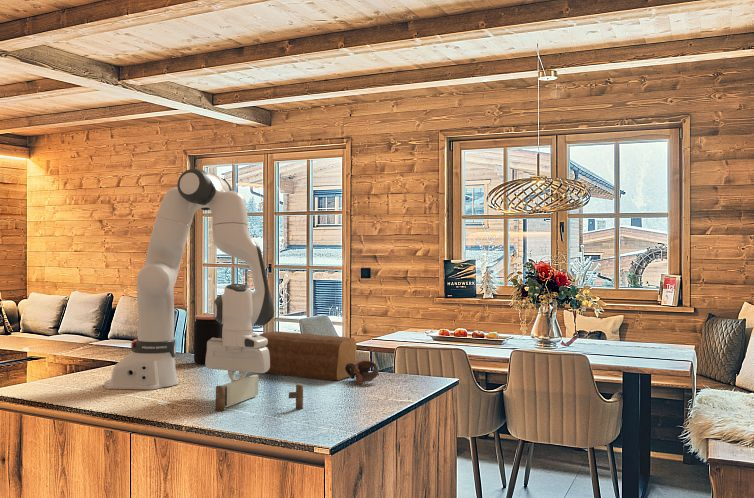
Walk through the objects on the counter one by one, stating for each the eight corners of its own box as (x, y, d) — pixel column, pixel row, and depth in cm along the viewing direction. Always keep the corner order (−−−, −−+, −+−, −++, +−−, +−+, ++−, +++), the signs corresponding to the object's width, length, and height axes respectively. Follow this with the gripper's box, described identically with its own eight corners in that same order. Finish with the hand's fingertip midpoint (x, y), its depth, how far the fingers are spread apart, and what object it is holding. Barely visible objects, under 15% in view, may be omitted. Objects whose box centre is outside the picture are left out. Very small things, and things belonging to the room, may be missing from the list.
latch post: (288, 410, 193) (289, 386, 193) (288, 407, 196) (288, 384, 196) (303, 409, 194) (303, 386, 194) (302, 407, 196) (303, 384, 196)
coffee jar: (228, 362, 268) (229, 315, 268) (208, 366, 259) (208, 317, 259) (208, 359, 273) (209, 313, 273) (187, 363, 264) (188, 315, 264)
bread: (276, 366, 262) (277, 328, 262) (357, 375, 247) (358, 335, 247) (254, 372, 249) (254, 332, 249) (337, 382, 234) (338, 339, 234)
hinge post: (215, 411, 190) (215, 387, 190) (215, 409, 192) (216, 385, 192) (224, 411, 191) (224, 387, 190) (224, 409, 193) (225, 385, 193)
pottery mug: (381, 381, 239) (383, 362, 235) (370, 398, 231) (373, 379, 227) (348, 370, 242) (350, 351, 238) (337, 386, 234) (339, 367, 230)
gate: (226, 407, 194) (227, 385, 194) (223, 406, 194) (223, 384, 194) (258, 395, 210) (258, 374, 210) (254, 394, 210) (254, 374, 210)
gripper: (201, 338, 209) (200, 384, 209) (262, 342, 202) (261, 390, 202) (213, 335, 215) (212, 381, 215) (272, 339, 208) (272, 386, 208)
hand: (237, 385), depth 209 cm, fingers closed
